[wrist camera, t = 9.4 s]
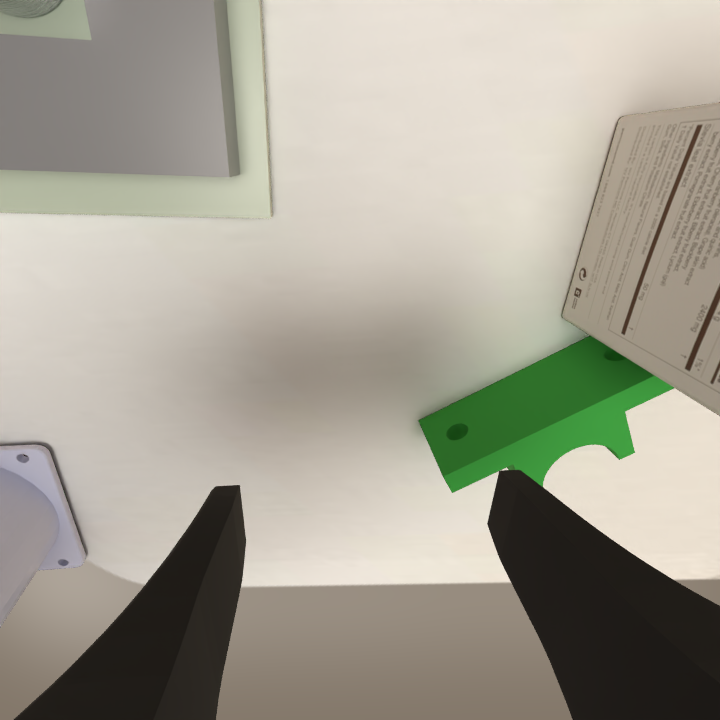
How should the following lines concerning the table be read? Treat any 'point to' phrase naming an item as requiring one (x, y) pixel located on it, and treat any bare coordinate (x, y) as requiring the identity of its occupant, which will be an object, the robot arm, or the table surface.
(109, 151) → the dock
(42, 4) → the silver metal cylinder
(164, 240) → the table surface
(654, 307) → the supplement box
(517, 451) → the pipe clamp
